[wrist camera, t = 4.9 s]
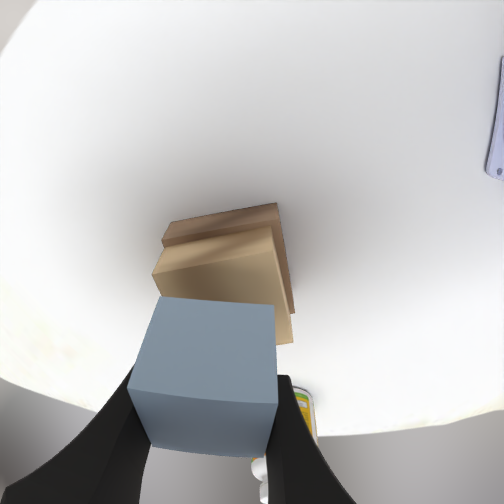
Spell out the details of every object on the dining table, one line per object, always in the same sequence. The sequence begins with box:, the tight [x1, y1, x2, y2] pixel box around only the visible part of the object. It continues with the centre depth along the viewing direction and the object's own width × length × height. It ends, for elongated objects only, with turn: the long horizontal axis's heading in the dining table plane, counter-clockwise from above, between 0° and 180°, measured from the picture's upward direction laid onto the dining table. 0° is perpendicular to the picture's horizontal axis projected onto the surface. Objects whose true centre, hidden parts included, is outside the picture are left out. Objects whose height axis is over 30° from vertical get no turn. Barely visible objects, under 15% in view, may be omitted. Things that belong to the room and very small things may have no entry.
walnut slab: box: [162, 203, 295, 314], centre depth 18 cm, size 6×6×2 cm
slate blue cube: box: [127, 296, 278, 458], centre depth 10 cm, size 4×4×4 cm
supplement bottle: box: [251, 388, 318, 504], centre depth 22 cm, size 5×5×10 cm
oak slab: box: [152, 225, 293, 345], centre depth 16 cm, size 6×6×2 cm
